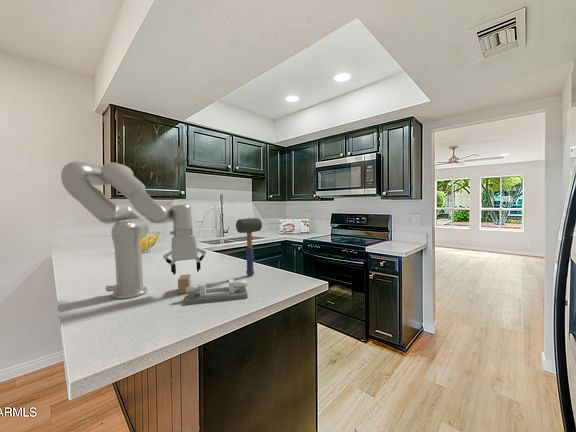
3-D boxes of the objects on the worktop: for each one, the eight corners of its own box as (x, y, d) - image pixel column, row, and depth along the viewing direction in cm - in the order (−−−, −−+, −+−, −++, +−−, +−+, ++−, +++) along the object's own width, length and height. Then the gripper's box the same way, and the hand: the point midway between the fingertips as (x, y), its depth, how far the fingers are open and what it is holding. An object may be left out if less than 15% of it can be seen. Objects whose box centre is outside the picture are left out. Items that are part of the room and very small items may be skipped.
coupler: (188, 293, 108) (188, 279, 107) (178, 294, 107) (177, 280, 106) (190, 287, 115) (190, 274, 115) (181, 288, 114) (180, 275, 114)
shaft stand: (184, 304, 95) (184, 289, 95) (188, 295, 105) (187, 281, 105) (248, 297, 101) (248, 283, 101) (246, 289, 111) (245, 276, 111)
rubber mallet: (243, 279, 126) (242, 219, 125) (236, 276, 132) (234, 218, 131) (264, 274, 134) (262, 217, 133) (256, 272, 140) (254, 217, 139)
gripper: (159, 236, 104) (162, 277, 105) (203, 232, 109) (206, 272, 109) (163, 234, 112) (166, 272, 112) (205, 230, 116) (207, 268, 117)
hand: (186, 272), depth 111 cm, fingers open, 9 cm apart
